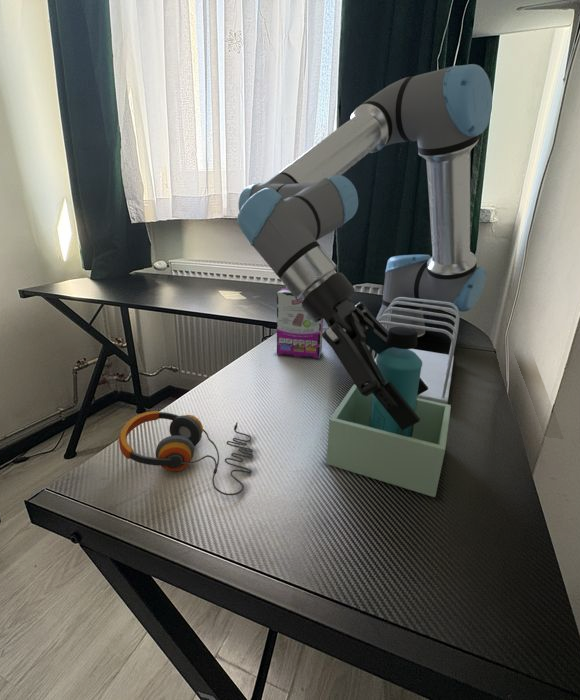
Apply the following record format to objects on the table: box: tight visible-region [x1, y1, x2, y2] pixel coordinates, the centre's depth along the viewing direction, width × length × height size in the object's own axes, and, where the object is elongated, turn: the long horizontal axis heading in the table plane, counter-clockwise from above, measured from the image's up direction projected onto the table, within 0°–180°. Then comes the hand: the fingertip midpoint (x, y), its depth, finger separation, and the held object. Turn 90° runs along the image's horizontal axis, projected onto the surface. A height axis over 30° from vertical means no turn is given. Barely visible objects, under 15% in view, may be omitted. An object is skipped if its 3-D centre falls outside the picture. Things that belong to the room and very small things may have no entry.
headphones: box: [118, 410, 254, 496], centre depth 57 cm, size 17×5×20 cm
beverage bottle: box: [369, 327, 422, 438], centre depth 55 cm, size 6×7×20 cm
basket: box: [325, 383, 452, 498], centre depth 58 cm, size 13×16×8 cm
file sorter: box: [367, 297, 460, 405], centre depth 83 cm, size 25×17×16 cm
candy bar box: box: [276, 288, 324, 359], centre depth 94 cm, size 11×5×16 cm, turn 78°
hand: (416, 407), depth 54 cm, fingers open, 9 cm apart
